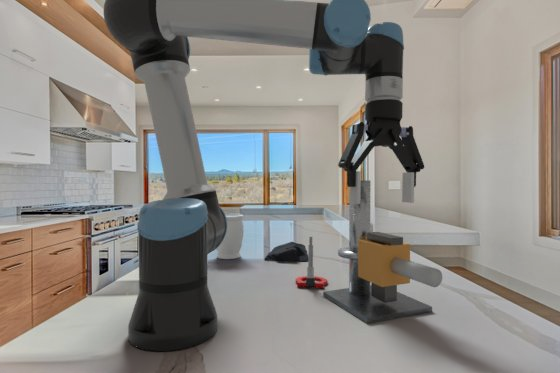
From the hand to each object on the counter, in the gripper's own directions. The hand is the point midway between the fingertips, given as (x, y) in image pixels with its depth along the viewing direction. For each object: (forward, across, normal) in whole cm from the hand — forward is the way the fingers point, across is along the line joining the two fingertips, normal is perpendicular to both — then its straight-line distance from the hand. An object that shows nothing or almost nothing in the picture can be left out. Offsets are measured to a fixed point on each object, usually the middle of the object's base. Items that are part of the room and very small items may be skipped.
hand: (382, 203), depth 73 cm
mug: (+22, +25, +40) cm, 53 cm away
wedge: (+20, 0, 0) cm, 20 cm away
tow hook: (+23, -6, +21) cm, 32 cm away
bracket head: (+16, 0, -5) cm, 17 cm away
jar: (+23, -19, +60) cm, 67 cm away
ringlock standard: (+22, 0, +4) cm, 23 cm away
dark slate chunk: (+23, +2, +56) cm, 60 cm away
